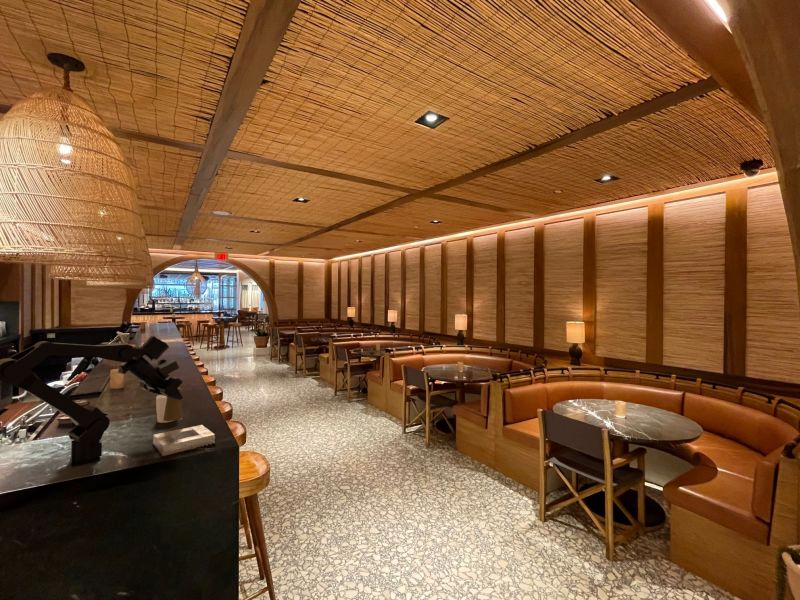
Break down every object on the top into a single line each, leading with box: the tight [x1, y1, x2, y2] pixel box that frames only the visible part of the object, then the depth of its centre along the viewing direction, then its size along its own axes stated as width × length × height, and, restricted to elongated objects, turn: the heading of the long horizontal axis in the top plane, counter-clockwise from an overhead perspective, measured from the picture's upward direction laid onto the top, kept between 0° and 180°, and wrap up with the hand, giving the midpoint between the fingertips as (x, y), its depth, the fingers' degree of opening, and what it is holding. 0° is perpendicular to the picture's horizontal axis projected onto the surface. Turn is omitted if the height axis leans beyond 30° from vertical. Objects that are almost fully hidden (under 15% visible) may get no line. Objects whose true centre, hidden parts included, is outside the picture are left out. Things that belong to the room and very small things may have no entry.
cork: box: [163, 386, 184, 422], centre depth 130 cm, size 6×6×11 cm
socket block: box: [152, 424, 216, 457], centre depth 122 cm, size 15×14×3 cm
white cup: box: [155, 394, 176, 424], centre depth 147 cm, size 8×8×10 cm
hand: (177, 397), depth 131 cm, fingers closed on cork, 5 cm apart
